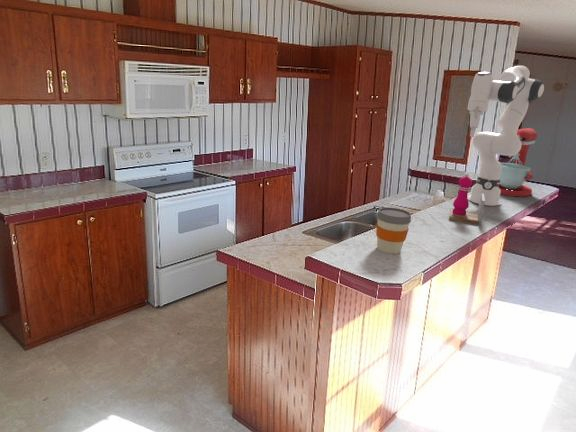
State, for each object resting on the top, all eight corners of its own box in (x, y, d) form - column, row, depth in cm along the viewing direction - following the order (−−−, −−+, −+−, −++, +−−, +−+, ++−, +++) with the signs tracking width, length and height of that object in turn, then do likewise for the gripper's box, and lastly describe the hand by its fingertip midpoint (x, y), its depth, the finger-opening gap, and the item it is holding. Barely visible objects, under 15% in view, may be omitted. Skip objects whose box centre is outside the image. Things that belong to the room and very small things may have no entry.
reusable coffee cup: (412, 252, 178) (418, 215, 173) (388, 257, 171) (394, 218, 166) (389, 241, 188) (394, 206, 183) (365, 245, 181) (371, 208, 176)
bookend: (450, 211, 239) (454, 189, 235) (478, 216, 234) (484, 193, 231) (448, 220, 224) (453, 196, 221) (479, 225, 220) (484, 201, 216)
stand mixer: (483, 190, 294) (497, 126, 282) (498, 184, 317) (512, 125, 305) (523, 199, 279) (539, 132, 267) (536, 192, 303) (552, 130, 291)
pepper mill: (467, 216, 226) (476, 176, 220) (452, 214, 227) (460, 174, 221) (465, 212, 233) (473, 173, 226) (450, 210, 234) (458, 171, 228)
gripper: (485, 108, 213) (478, 138, 217) (483, 106, 232) (478, 134, 236) (470, 107, 215) (464, 137, 219) (470, 105, 234) (465, 133, 238)
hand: (471, 135), depth 228 cm, fingers open, 8 cm apart
